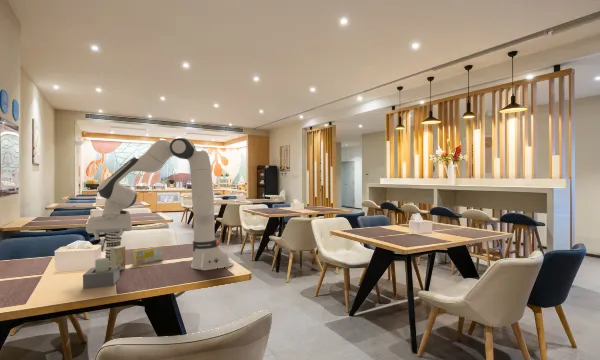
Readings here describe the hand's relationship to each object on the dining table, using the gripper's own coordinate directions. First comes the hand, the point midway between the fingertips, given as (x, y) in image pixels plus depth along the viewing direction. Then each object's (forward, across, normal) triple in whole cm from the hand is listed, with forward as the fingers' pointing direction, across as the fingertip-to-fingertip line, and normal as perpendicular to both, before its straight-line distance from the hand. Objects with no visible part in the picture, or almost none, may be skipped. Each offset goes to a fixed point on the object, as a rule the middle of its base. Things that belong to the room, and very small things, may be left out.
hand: (107, 238), depth 160 cm
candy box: (-3, +15, +30) cm, 34 cm away
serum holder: (+20, 0, +7) cm, 21 cm away
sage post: (+20, 0, +6) cm, 21 cm away
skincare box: (+5, +2, +22) cm, 23 cm away
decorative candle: (-11, -5, +39) cm, 41 cm away
